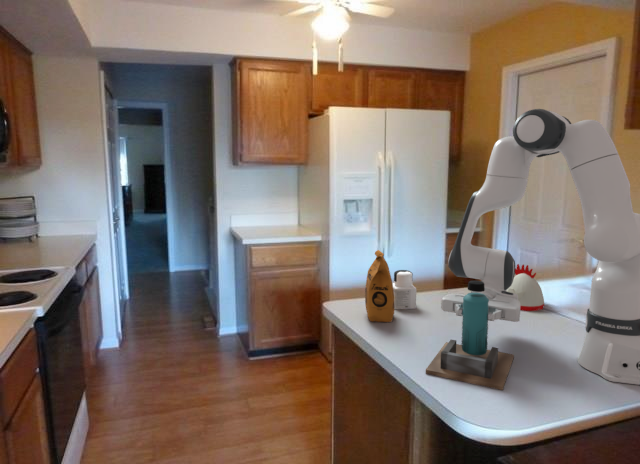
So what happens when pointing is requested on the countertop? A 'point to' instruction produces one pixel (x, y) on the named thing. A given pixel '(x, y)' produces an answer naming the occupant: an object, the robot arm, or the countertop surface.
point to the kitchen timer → (527, 289)
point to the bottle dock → (471, 366)
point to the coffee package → (379, 291)
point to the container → (404, 290)
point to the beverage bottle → (475, 320)
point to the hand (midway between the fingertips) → (474, 315)
